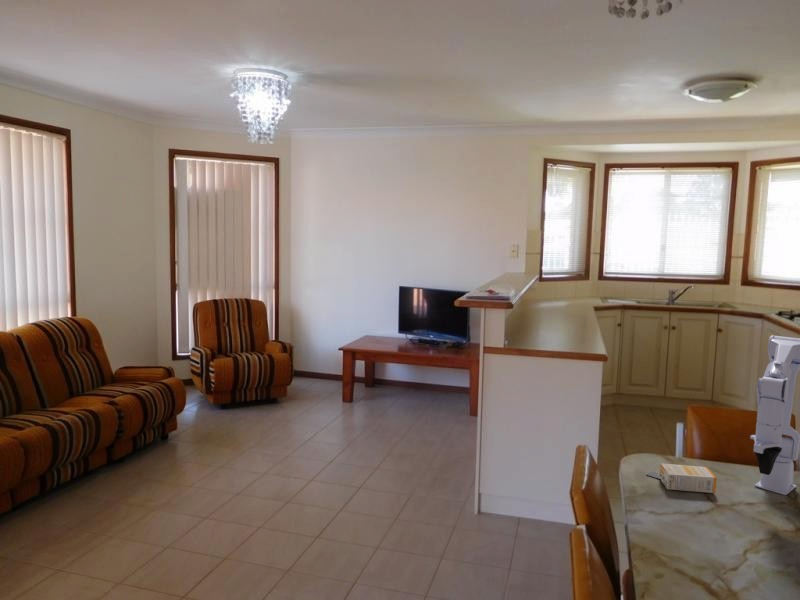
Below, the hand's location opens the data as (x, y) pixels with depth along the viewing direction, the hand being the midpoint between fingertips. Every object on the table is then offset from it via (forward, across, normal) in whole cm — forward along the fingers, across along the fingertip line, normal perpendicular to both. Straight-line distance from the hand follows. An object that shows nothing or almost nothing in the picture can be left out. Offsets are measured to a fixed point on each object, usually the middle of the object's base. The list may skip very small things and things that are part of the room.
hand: (765, 473), depth 155 cm
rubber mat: (+10, -6, -25) cm, 28 cm away
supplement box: (+8, -4, -14) cm, 17 cm away
